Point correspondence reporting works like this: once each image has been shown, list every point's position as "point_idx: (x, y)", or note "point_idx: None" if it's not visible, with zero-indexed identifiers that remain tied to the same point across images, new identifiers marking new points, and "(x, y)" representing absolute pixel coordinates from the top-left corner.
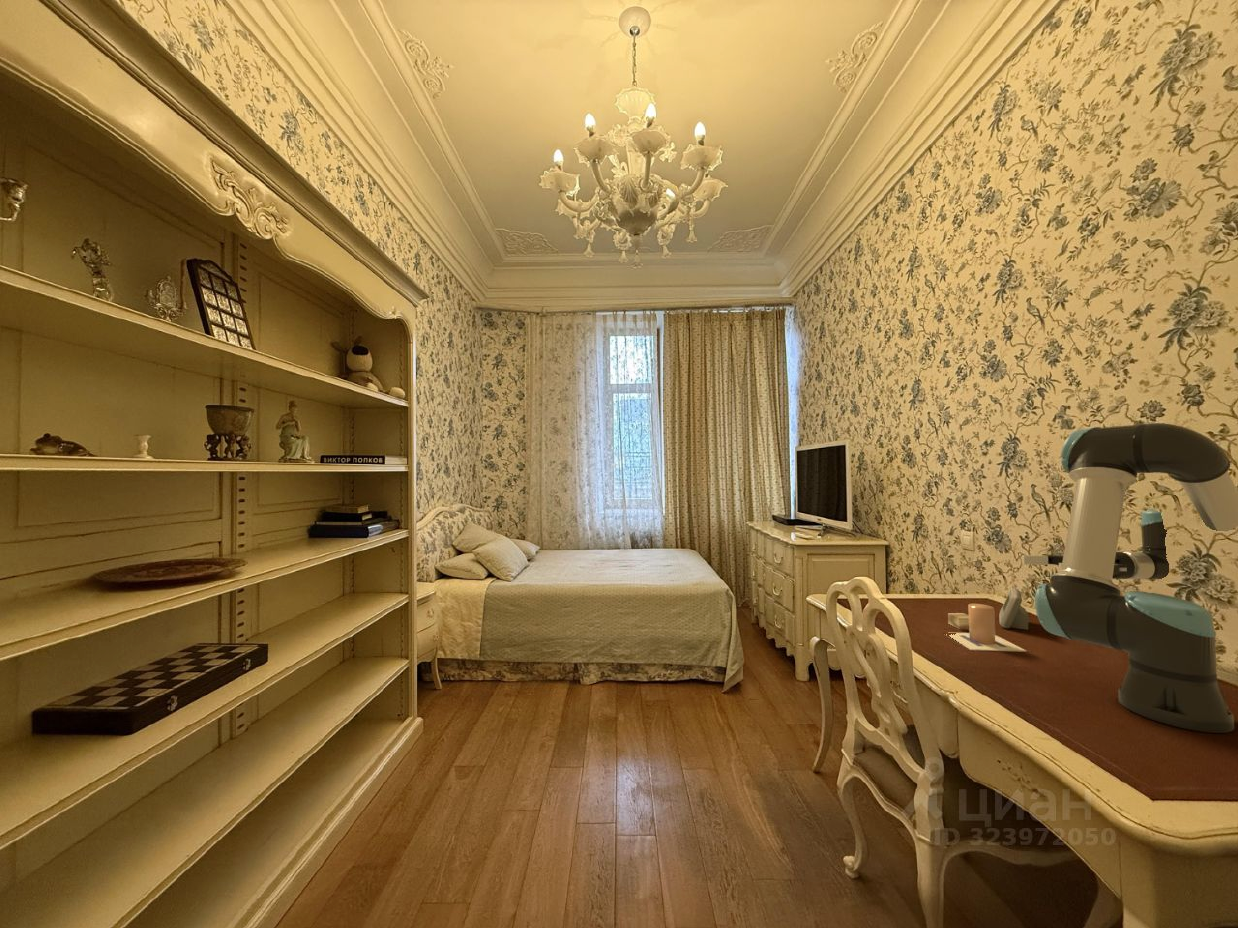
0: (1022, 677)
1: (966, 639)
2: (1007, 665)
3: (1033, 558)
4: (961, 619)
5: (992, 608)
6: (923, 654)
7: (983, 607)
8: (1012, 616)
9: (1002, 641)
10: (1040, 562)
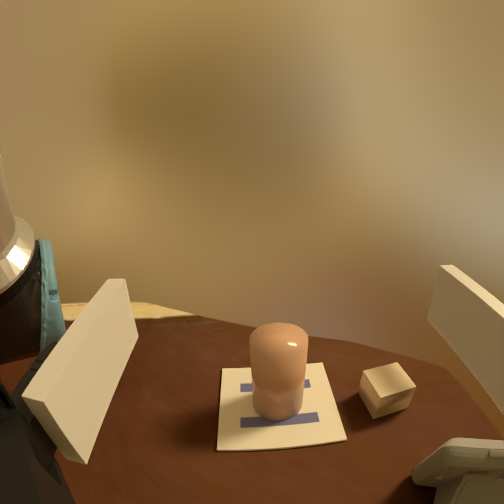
0: None
1: None
2: (148, 381)
3: (466, 312)
4: (365, 378)
5: (261, 350)
6: (203, 317)
7: (268, 339)
8: (421, 472)
9: (282, 436)
10: (484, 366)
